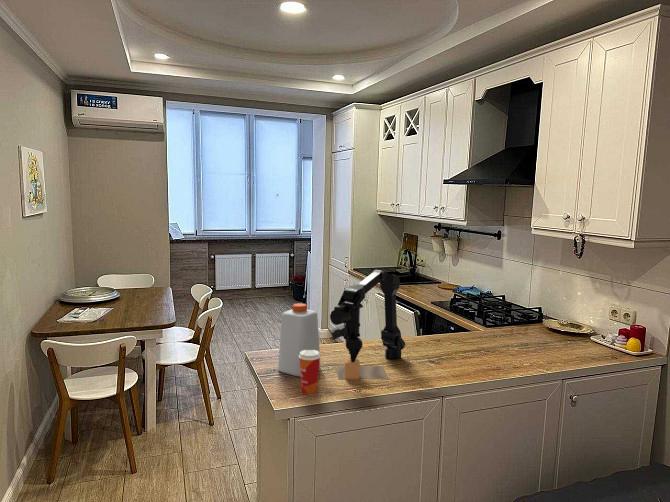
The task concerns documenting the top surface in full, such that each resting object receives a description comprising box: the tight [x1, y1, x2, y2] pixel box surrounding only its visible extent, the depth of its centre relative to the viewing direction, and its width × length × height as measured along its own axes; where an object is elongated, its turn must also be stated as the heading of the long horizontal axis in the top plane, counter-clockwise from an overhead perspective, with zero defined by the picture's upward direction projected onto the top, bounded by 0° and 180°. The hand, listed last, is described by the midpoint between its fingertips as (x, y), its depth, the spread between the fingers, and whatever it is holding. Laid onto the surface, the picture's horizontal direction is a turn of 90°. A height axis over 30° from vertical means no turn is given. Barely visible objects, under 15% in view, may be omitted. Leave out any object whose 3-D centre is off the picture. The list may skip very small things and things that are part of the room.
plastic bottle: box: [277, 302, 321, 378], centre depth 194 cm, size 15×15×28 cm
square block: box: [343, 357, 361, 380], centre depth 186 cm, size 6×6×7 cm
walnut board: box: [335, 365, 389, 381], centre depth 191 cm, size 20×14×1 cm
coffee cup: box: [299, 350, 321, 396], centre depth 174 cm, size 8×8×15 cm
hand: (351, 358), depth 185 cm, fingers open, 9 cm apart
